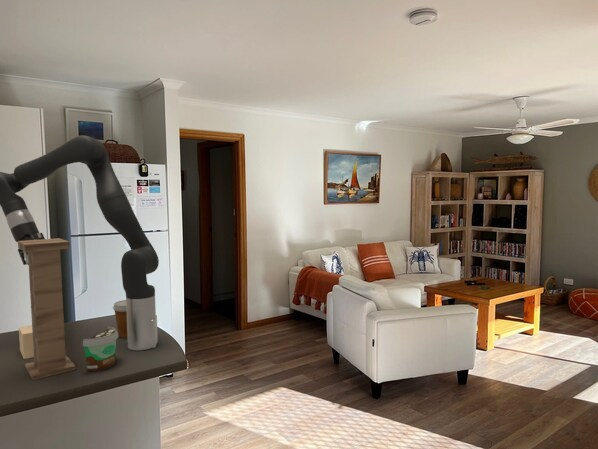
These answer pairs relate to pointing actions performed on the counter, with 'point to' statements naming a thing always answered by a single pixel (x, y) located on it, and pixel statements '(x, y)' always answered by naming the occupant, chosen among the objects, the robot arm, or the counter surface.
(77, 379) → the counter surface
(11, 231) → the robot arm
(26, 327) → the wooden mallet
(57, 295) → the walnut stand
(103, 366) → the food container
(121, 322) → the disposable coffee cup
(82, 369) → the counter surface
